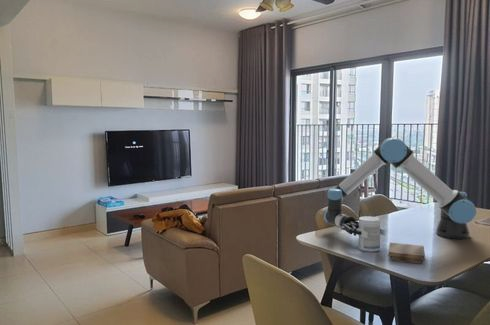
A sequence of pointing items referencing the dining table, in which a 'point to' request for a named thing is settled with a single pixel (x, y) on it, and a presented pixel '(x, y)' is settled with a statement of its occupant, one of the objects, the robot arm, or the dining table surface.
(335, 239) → the dining table surface
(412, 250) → the walnut stand
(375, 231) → the supplement tub
